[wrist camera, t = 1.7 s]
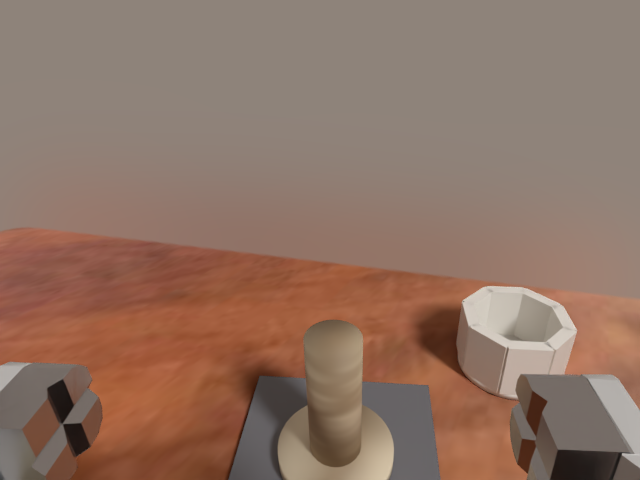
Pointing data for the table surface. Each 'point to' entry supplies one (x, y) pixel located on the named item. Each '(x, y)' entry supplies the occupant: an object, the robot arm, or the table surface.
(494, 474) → the table surface
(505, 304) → the white octagonal collar
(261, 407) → the mat
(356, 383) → the beige peg with base
